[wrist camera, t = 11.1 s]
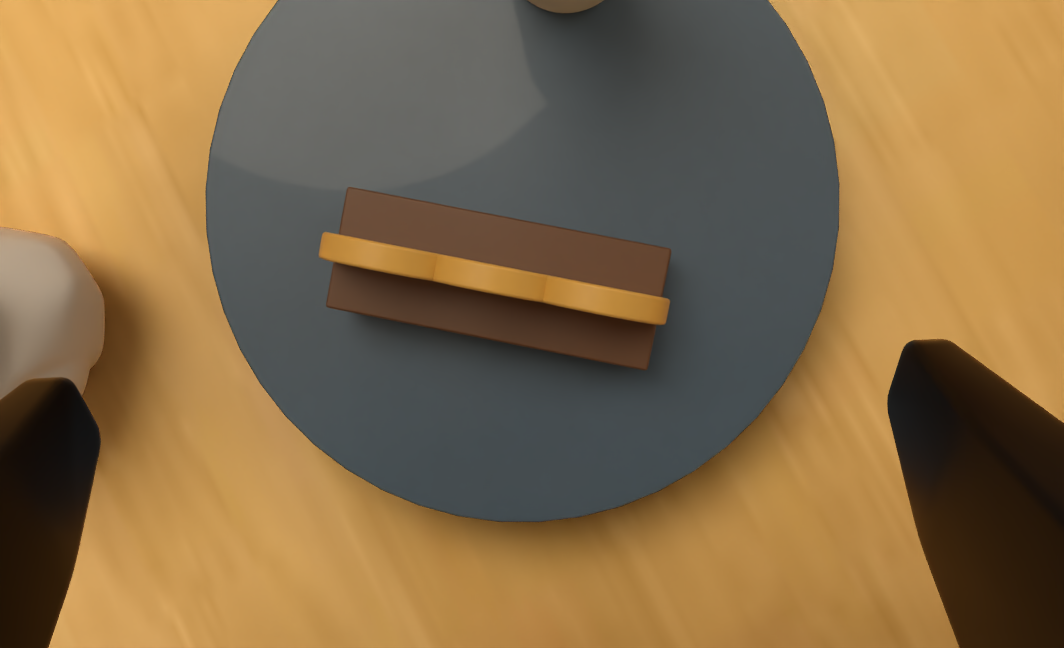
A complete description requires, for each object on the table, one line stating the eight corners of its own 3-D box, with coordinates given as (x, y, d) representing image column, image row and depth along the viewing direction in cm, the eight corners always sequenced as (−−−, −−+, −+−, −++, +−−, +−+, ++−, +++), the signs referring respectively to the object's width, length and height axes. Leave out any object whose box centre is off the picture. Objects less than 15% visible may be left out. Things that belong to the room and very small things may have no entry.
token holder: (754, 562, 20) (962, 888, 9) (181, 444, 20) (-252, 623, 10) (882, -35, 19) (1269, -433, 8) (282, -142, 20) (-68, -645, 9)
